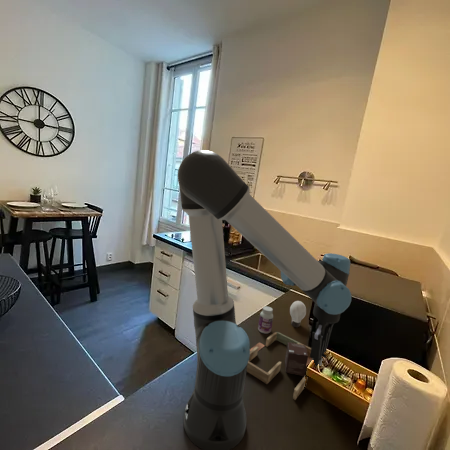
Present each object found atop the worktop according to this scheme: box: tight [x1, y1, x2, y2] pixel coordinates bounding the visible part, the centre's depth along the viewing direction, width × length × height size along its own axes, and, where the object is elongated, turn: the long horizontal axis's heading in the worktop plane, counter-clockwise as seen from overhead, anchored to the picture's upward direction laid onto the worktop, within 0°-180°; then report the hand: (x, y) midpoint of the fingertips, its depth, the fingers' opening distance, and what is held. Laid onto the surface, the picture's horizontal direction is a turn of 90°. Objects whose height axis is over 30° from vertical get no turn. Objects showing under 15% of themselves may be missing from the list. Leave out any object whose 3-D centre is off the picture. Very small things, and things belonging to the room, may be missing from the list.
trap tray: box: [246, 330, 312, 401], centre depth 89 cm, size 24×22×3 cm
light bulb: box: [289, 300, 307, 328], centre depth 115 cm, size 7×7×11 cm
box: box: [284, 342, 308, 377], centre depth 87 cm, size 6×6×7 cm
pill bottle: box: [257, 305, 274, 334], centre depth 107 cm, size 5×5×10 cm
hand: (314, 375), depth 83 cm, fingers closed
